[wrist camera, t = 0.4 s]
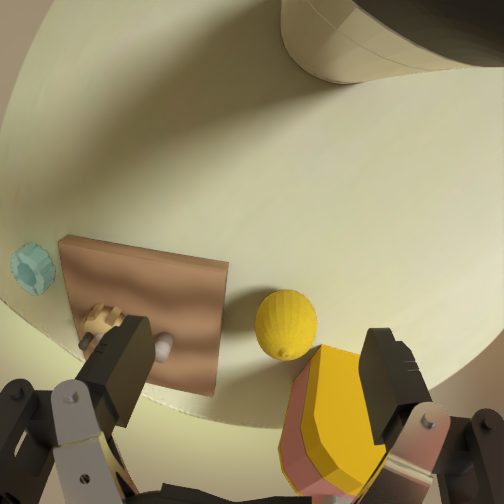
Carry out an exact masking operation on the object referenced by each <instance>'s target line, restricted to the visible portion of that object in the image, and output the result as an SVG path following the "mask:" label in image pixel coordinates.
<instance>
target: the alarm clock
mask: <svg viewBox="0 0 504 504" xmlns="http://www.w3.org/2000/svg"><path fill="white" fill-rule="evenodd" d="M359 358H360V355H358V354H354V353H351V352H347V351H343V350H340V349H336V348H333V347H329V346H326V345H323V344H322V345H321V346H320V347H319V349H318V350H317V352H316V353H315V354H314V356H313V357H312V358H311V360H310V361H309V362H308V364H307V365H306V366H305V367H304V369H303V370H302V371H301V373H300V374H299V375H298V376H297V378H296V379H295V380H294V381H293V384H292V389H291V394H290V399H289V404H288V408H287V413H286V417H285V422H284V426H283V431H282V434H281V439H280V442H279V446H278V452H279V458H280V463H281V469H282V473H283V474H284V476H285V477H286V479H287V480H288V482H289V483H290V485H291V486H292V488H293V489H294V491H295V493H296V494H298V495H299V496H312V504H350V503H351V502H352V501H353V499H354V498H355V497H356V496H357V494H358V493H359V492H360V490H361V489H362V487H363V486H364V484H365V483H366V482H367V480H368V479H369V477H370V476H371V474H372V472H373V471H374V469H375V468H376V466H377V465H378V463H379V461H380V460H381V458H382V457H383V455H384V453H385V452H386V448H385V444H383V445H375V446H374V441H373V436H372V431H371V427H370V422H369V417H368V412H367V408H366V403H365V399H364V394H363V390H362V386H361V381H360V377H359V371H358V365H359Z"/></svg>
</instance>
